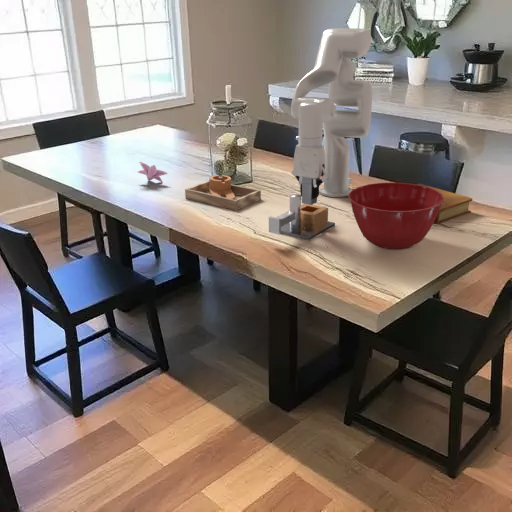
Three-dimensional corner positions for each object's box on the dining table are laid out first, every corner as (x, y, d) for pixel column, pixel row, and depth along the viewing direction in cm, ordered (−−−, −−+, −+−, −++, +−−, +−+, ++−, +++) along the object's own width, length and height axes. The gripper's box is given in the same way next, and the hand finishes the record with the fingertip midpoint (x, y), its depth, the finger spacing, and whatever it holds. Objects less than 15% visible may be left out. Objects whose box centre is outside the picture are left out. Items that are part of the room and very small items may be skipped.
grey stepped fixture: (300, 217, 219) (300, 181, 214) (334, 225, 211) (336, 188, 206) (256, 240, 201) (255, 201, 195) (292, 250, 193) (292, 210, 187)
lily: (170, 188, 257) (171, 165, 258) (147, 183, 248) (148, 159, 249) (153, 191, 265) (154, 169, 266) (129, 187, 257) (131, 164, 258)
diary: (384, 209, 227) (385, 193, 225) (418, 198, 237) (419, 183, 235) (437, 225, 210) (438, 209, 208) (470, 213, 220) (472, 197, 218)
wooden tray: (211, 188, 252) (210, 179, 251) (260, 199, 238) (260, 190, 237) (185, 198, 241) (184, 189, 240) (236, 210, 227) (235, 201, 226)
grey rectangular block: (301, 203, 207) (302, 170, 203) (307, 200, 210) (308, 168, 206) (311, 205, 205) (311, 172, 201) (316, 202, 208) (317, 169, 204)
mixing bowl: (328, 242, 197) (329, 196, 191) (381, 219, 216) (384, 176, 209) (405, 268, 179) (409, 217, 173) (456, 240, 197) (461, 193, 191)
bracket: (208, 192, 247) (208, 175, 245) (228, 191, 249) (229, 174, 246) (214, 207, 231) (214, 188, 228) (236, 206, 233) (236, 188, 230)
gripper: (282, 140, 202) (282, 195, 209) (326, 147, 192) (325, 204, 200) (295, 136, 207) (295, 189, 214) (339, 142, 198) (337, 198, 205)
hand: (309, 196), depth 207 cm, fingers closed on grey rectangular block, 3 cm apart
